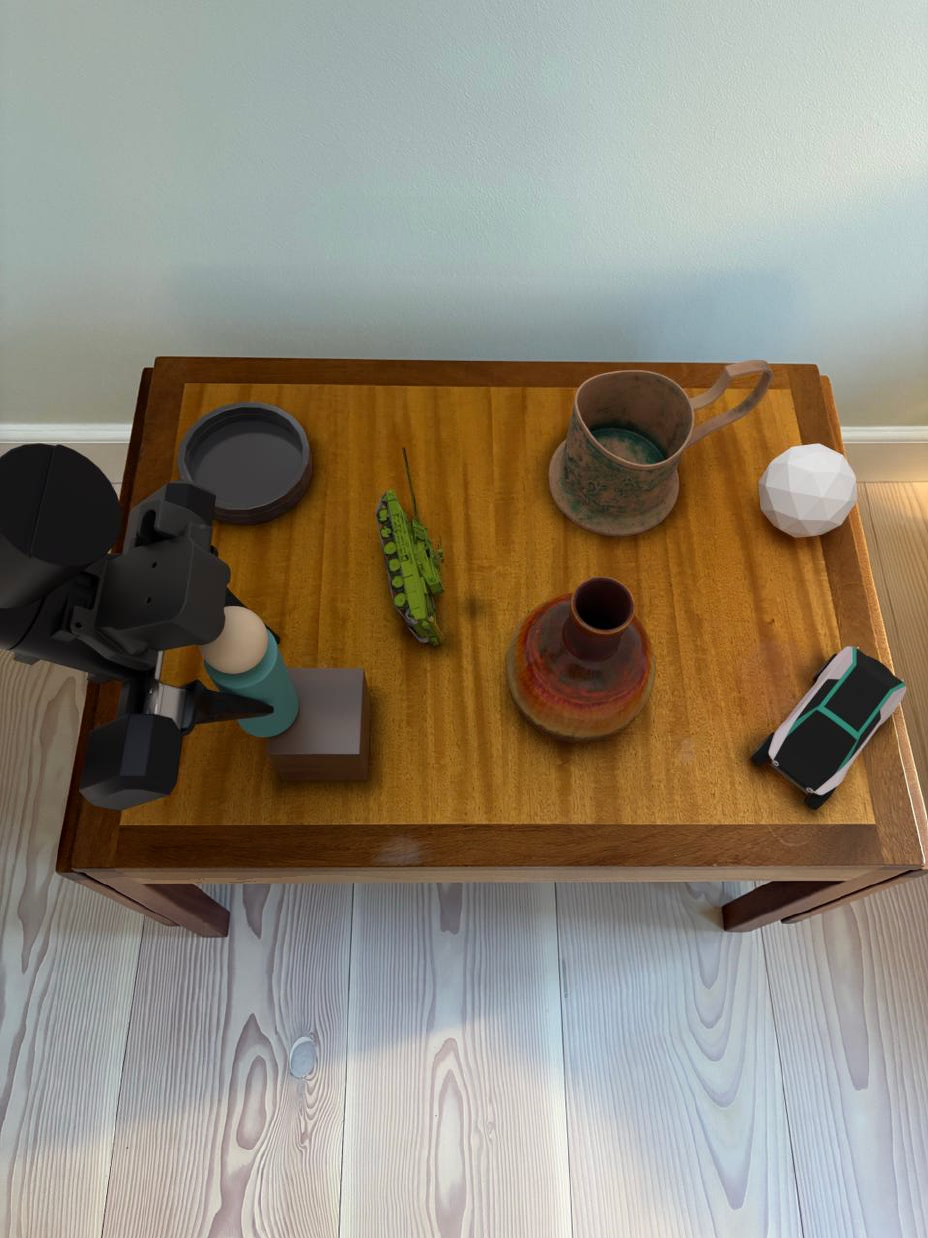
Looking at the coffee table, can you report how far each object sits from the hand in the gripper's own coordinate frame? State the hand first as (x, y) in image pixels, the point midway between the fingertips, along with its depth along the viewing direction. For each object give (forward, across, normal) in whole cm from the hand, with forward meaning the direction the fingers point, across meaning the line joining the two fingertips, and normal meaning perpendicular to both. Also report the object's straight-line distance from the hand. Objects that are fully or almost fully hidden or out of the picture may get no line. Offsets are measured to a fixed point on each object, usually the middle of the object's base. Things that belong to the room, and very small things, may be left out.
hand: (273, 677), depth 57 cm
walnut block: (+11, 0, +8) cm, 13 cm away
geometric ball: (+35, +17, -22) cm, 44 cm away
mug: (+30, +25, -11) cm, 40 cm away
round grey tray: (+5, +25, +14) cm, 29 cm away
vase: (+24, +4, -6) cm, 25 cm away
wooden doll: (+3, 0, +5) cm, 6 cm away
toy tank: (+16, +17, +3) cm, 23 cm away
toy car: (+38, +1, -19) cm, 42 cm away
